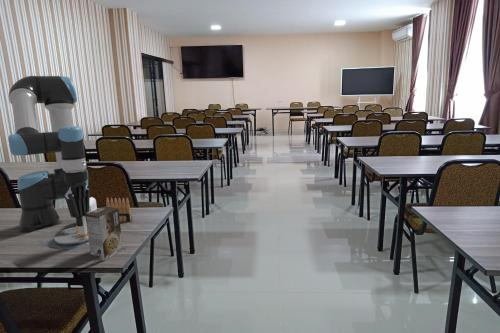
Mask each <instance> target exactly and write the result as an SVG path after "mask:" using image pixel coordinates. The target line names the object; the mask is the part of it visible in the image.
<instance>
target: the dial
mask: <svg viewBox="0 0 500 333" xmlns="http://www.w3.org/2000/svg"><path fill="white" fill-rule="evenodd" d="M86 226H87V225H86ZM53 238H55V243H56V244H57V245H61V246H71V245H77V244H81V243H85V242H87V241H89V237H88V229H87V234H78V227H77V224H76V225H75V226H72V227H69V228H66V229H62V230H60V231H58V232H56V233H55V235H54V236H53Z"/></svg>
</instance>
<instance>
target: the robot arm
mask: <svg viewBox="0 0 500 333" xmlns="http://www.w3.org/2000/svg"><path fill="white" fill-rule="evenodd" d="M8 101H9V103H10V104H11V105H12V113H13V123H14V125H13V126H14V134H10V135H9V136H8V146H9V151H10V153H11V155H13V156H31V155H33V156H34V155H42V154H51V153H53V154H55V160H56V166H55V167H54V168H53V172H52V173H50V172H49V171H48V170H38V171H37V170H36V171H33V172H29V173H26V174H24V175H21V176H19V178H18V179H17V191H18V195H19V201H20V210H21V214H20V219H19V224H18V226H19V231H21V232H25V233H32V232H36V231H40V230H43V229H48V228H51V227H53V226H56V225H57V226H58V225H60V223H61V219H60V215H59V214H58V212H57V210H56V208H55V206H54V202H53V201H57V200H63V199H64V200H65V202H66V205H67V208H68V211H69V214H70V218H75V222H76V225H77V227H78V234H87V226H86V214H88V213H87V212H89V201H90V198H91V197H90V196H91V189H92V186H91V185H89V172H88V169H87V161H86V151H85V143H84V141H85V140H84V134H83V129H82V127H81V126H78V125H77V126H76V125H75V126H74V122H73V115H72V109H74V107H75V103H77V102H78V97H77V91H76V88H75V85H74V83H73V80H72V79H71V78H70V77H69V76H61V75H28V76H25V77H22V78H20V79H18V80H17V81H15V83H14V84H12V86H11V87H10V89H9V92H8ZM36 104H43V106H44V108H45V109H46V110H47V111H48V112H49V119H50V126H51V131H45V132H44V131H43V132H40V128H39V122H38V116H37V109H36Z"/></svg>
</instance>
